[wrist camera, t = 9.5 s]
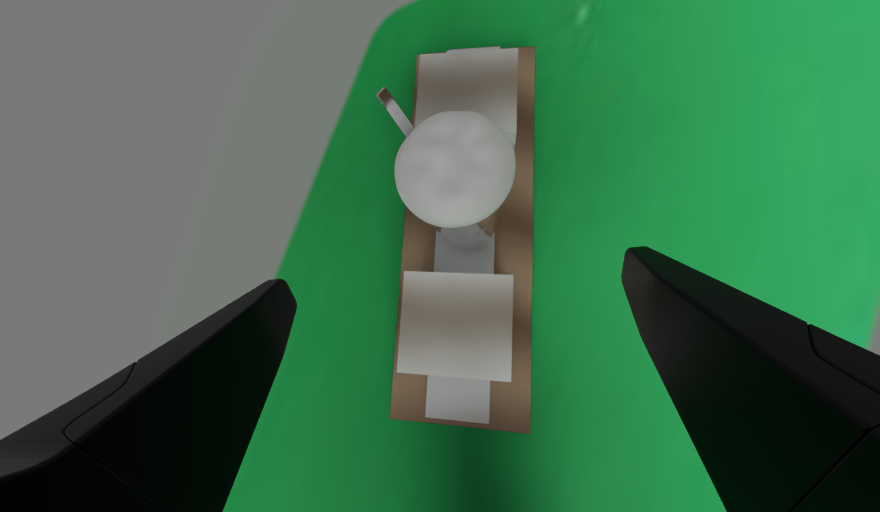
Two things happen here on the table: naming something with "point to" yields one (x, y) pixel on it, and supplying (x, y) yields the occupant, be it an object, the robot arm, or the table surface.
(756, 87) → the table surface
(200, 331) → the robot arm
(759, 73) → the table surface
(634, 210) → the table surface
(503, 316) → the wooden board with pads
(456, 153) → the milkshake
